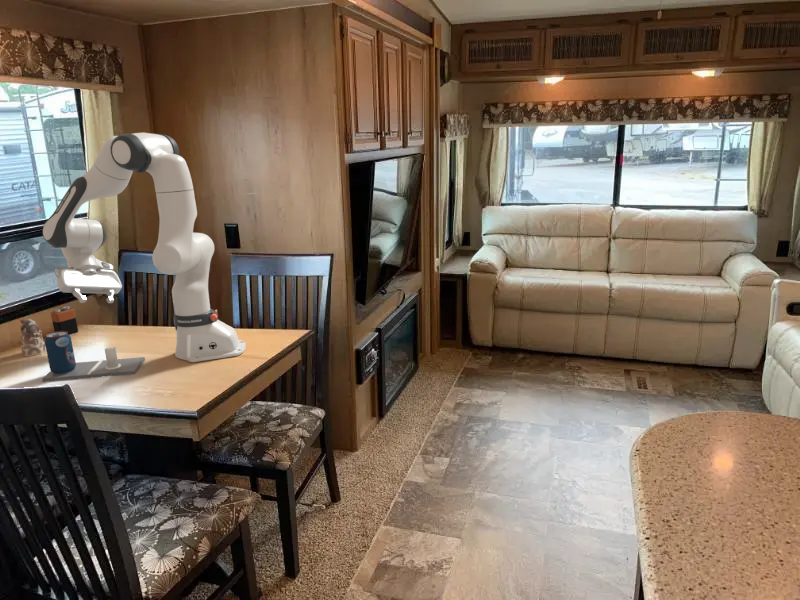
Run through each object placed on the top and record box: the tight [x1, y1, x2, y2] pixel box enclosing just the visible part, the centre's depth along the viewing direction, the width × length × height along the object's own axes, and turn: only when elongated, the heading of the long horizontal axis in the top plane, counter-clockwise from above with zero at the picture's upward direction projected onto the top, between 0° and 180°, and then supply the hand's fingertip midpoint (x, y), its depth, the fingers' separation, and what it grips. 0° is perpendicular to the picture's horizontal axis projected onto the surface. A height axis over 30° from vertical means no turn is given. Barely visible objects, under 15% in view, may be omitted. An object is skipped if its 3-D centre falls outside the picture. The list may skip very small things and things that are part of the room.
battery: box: [50, 305, 79, 335], centre depth 218 cm, size 4×7×10 cm, turn 148°
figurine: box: [20, 318, 47, 357], centre depth 198 cm, size 7×7×12 cm
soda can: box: [44, 331, 77, 375], centre depth 178 cm, size 7×7×12 cm
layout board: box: [41, 346, 146, 383], centre depth 181 cm, size 26×12×7 cm, turn 99°
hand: (97, 302), depth 194 cm, fingers open, 8 cm apart
